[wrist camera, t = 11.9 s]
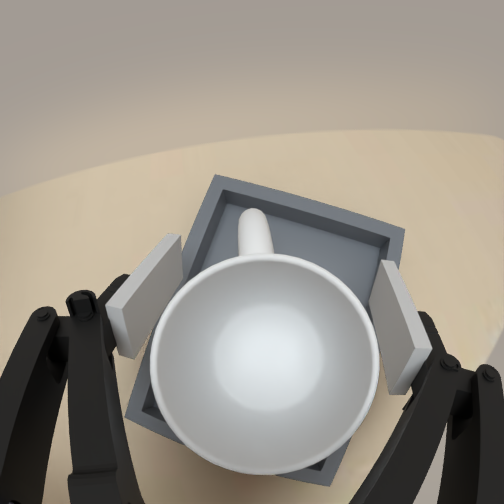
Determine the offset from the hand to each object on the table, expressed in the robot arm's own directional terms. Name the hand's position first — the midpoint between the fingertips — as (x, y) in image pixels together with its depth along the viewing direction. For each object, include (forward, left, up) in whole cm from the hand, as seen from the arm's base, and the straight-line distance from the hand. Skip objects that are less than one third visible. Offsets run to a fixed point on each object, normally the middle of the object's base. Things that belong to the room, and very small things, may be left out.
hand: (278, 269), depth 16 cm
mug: (0, -3, -5) cm, 6 cm away
